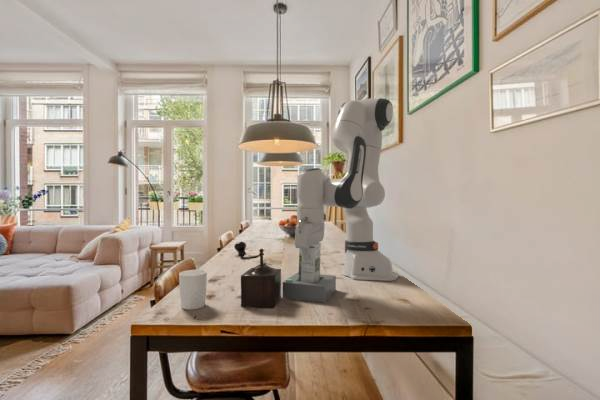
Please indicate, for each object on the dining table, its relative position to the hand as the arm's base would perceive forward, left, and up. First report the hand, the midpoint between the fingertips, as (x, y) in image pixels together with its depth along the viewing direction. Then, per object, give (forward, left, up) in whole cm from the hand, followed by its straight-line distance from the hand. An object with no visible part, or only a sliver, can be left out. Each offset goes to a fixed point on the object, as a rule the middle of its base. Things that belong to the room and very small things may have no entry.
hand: (310, 258), depth 104 cm
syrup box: (0, 0, -10) cm, 10 cm away
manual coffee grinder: (+14, +13, -12) cm, 23 cm away
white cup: (+29, +23, -12) cm, 39 cm away
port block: (0, 0, -12) cm, 12 cm away
